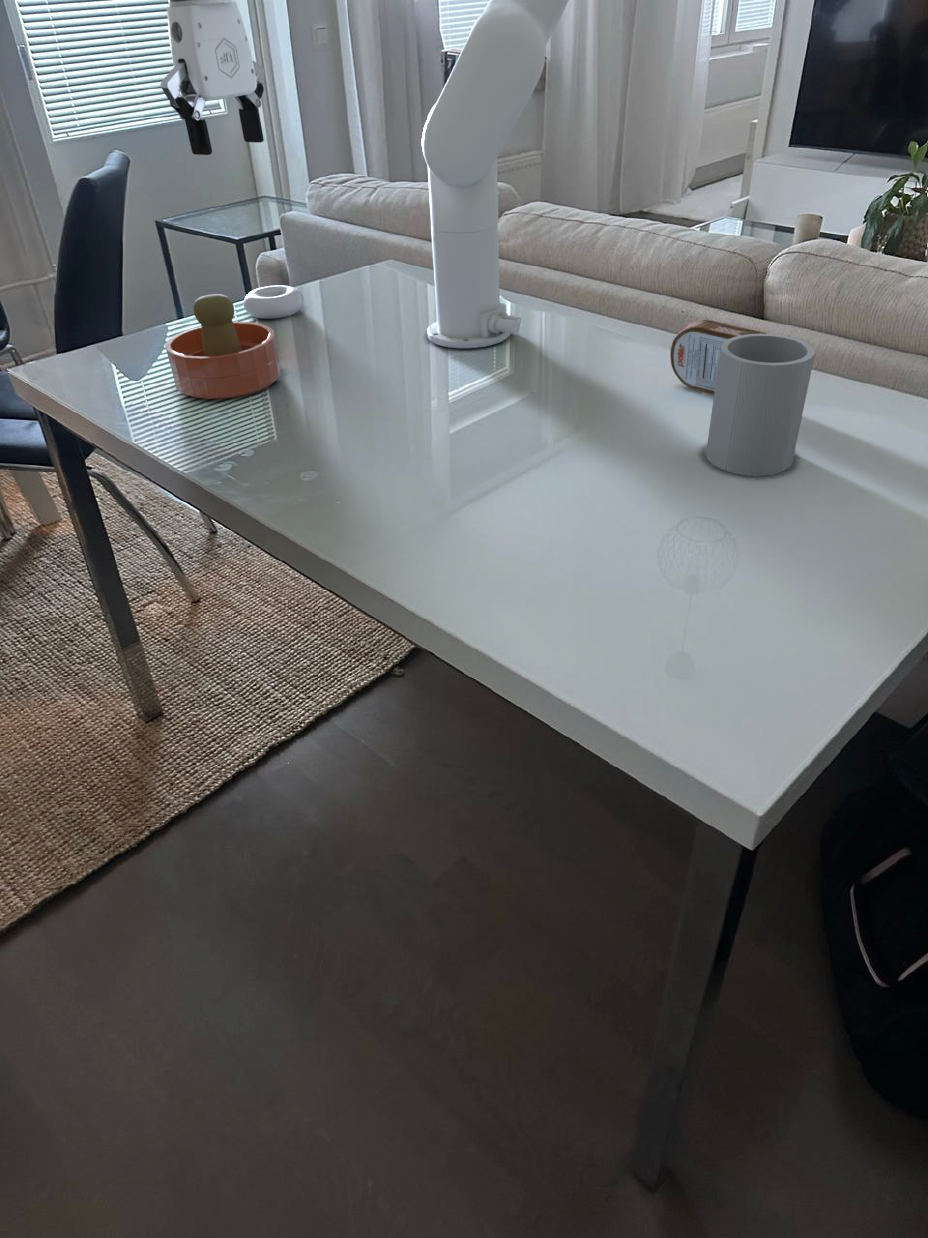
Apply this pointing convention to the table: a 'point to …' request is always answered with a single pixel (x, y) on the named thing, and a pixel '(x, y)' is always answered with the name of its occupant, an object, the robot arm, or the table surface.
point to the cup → (758, 403)
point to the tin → (701, 352)
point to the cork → (217, 325)
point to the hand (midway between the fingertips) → (229, 147)
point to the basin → (224, 363)
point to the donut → (273, 302)
